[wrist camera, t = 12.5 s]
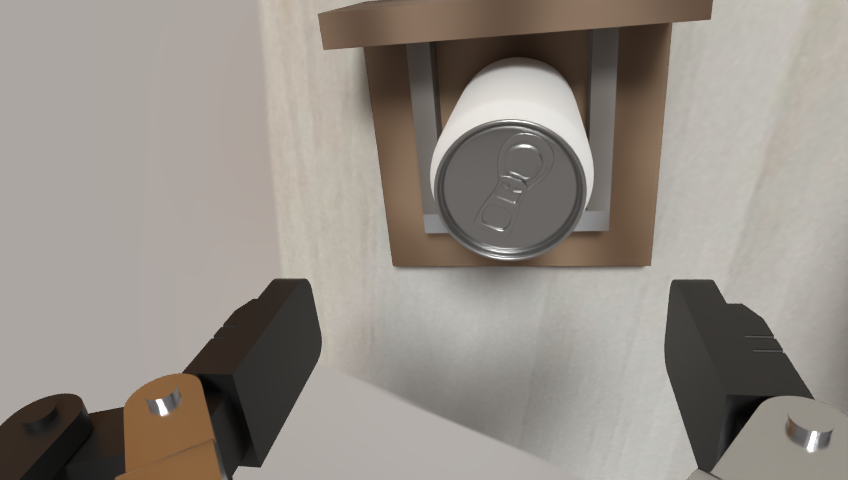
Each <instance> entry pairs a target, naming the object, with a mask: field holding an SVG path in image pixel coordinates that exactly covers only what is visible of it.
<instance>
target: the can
mask: <svg viewBox="0 0 848 480" xmlns="http://www.w3.org/2000/svg"><path fill="white" fill-rule="evenodd" d="M593 180H594V167H593V159H592V154H591V150H590V146H589V143H588V139H587V136H586V132H585V129H584V126H583V122H582V119H581V116H580V113H579V110H578V106H577V103H576V100H575V98H574V95H573V92H572V90H571V88H570V86H569V85H568V83H567V81H566V80H565V79H564V77H563V76H562V75H561V74H560V73H559V72H558V71H557V70H556V69H555V68H553V67H552V66H550V65H548V64H546V63H544V62H542V61H539V60H535V59H531V58H524V57H511V58H505V59H502V60H498V61H496V62H494V63H491V64H490V65H488V66H486V67H485V68H483V69H482V70H481V71H479V72H478V73H477V74H476V75H475V76H474V77H473V78H472V79H471V81H470V82H469V83H468V85H467V86H466V88H465V90H464V91H463V93H462V95H461V97H460V99H459V101H458V102H457V104H456V106H455V108H454V110H453V112H452V114H451V116H450V118H449V120H448V122H447V124H446V126H445V128H444V130H443V132H442V134H441V136H440V138H439V140H438V143H437V145H436V148H435V150H434V153H433V157H432V162H431V170H430V183H431V190H432V194H433V198H434V201H435V205H436V209H437V212H438V215H439V217H440V219H441V221H442V223H443V225H444V226H445V228H446V229H447V231H448V232H449V233H450V234H451V235H452V237H453V238H454V239H455V240H456V241H458V242H459V243H460V244H461V245H463V246H464V247H465V248H467V249H469V250H470V251H472V252H474V253H476V254H478V255H481V256H484V257H487V258H490V259H495V260H501V261H519V260H526V259H530V258H534V257H537V256H540V255H542V254H545V253H547V252H548V251H550V250H552V249H554V248H555V247H557V246H558V245H559V244H561V243H562V242H563V241H564V240H565V239H566V238H567V237H568V236H569V235H570V234H571V233H572V231H573V230H574V229H575V227H576V226H577V224H578V222H579V220H580V218H581V216H582V214H583V212H584V210H585V209H586V207H587V204H588V202H589V199H590V196H591V193H592V188H593Z"/></svg>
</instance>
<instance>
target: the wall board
mask: <svg viewBox="0 0 848 480" xmlns="http://www.w3.org/2000/svg"><path fill="white" fill-rule="evenodd" d="M712 3H713V0H379V1H368V2H363V3H359V4H355V5H351V6H347V7H343V8H339V9H335V10H331V11H327V12H324V13H320V14H318V18H319V25H320V31H321V37H322V43H323V49H324V50H329V49H342V48H355V47H364V51H365V59H366V67H367V74H368V82H369V89H370V97H371V104H372V112H373V119H374V127H375V135H376V142H377V150H378V157H379V165H380V172H381V180H382V188H383V195H384V203H385V210H386V218H387V225H388V233H389V240H390V248H391V256H392V263H393V266H651V258H652V246H653V235H654V224H655V213H656V201H657V190H658V179H659V168H660V156H661V145H662V134H663V123H664V111H665V100H666V89H667V78H668V66H669V55H670V44H671V33H672V22H685V21H698V20H711V12H712ZM511 57H524V58H531V59H535V60H539V61H542V62H544V63H546V64H548V65H550V66H552V67H553V68H555V69H556V70H557V71H558V72H559V73H560V74H561V75H562V76H563V77H564V79H565V80H566V81H567V83H568V85H569V86H570V88H571V90H572V92H573V95H574V98H575V100H576V103H577V106H578V110H579V113H580V116H581V119H582V122H583V126H584V129H585V132H586V136H587V139H588V143H589V146H590V150H591V154H592V159H593V167H594V180H593V188H592V193H591V196H590V199H589V202H588V204H587V207H586V209H585V210H584V212H583V214H582V216H581V218H580V220H579V222H578V224H577V226H576V227H575V229H574V230H573V231H572V233H571V234H570V235H569V236H568V237H567V238H566V239H565V240H564V241H563V242H562V243H561V244H559V245H558V246H557V247H555V248H554V249H552V250H550V251H548V252H547V253H545V254H542V255H540V256H537V257H534V258H530V259H526V260H519V261H501V260H495V259H490V258H487V257H484V256H481V255H478V254H476V253H474V252H472V251H470V250H469V249H467V248H465V247H464V246H463V245H461V244H460V243H459V242H458V241H456V240H455V239H454V238H453V237H452V235H451V234H450V233H449V232H448V231H447V229H446V228H445V226H444V225H443V223H442V221H441V219H440V217H439V215H438V212H437V209H436V205H435V201H434V198H433V194H432V190H431V183H430V170H431V162H432V157H433V153H434V150H435V148H436V145H437V143H438V140H439V138H440V136H441V134H442V132H443V130H444V128H445V126H446V124H447V122H448V120H449V118H450V116H451V114H452V112H453V110H454V108H455V106H456V104H457V102H458V101H459V99H460V97H461V95H462V93H463V91H464V90H465V88H466V86H467V85H468V83H469V82H470V81H471V79H472V78H473V77H474V76H475V75H476V74H477V73H478V72H479V71H481V70H482V69H483V68H485V67H486V66H488V65H490V64H491V63H494V62H496V61H498V60H502V59H505V58H511Z"/></svg>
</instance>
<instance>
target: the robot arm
mask: <svg viewBox="0 0 848 480" xmlns="http://www.w3.org/2000/svg"><path fill="white" fill-rule="evenodd" d="M321 346H322V337H321V331H320V326H319V321H318V316H317V312H316V307H315V302H314V297H313V293H312V288H311V285H310V283H309V281H308V280H307V279H274V280H273V281H272V282H271V283H270V284H269V285H268V287H267V288H266V289H265V290H264V291H263V293H262V294H261V295H260V296H259V298H258V299H252V300H251V301H249V302H248V303H246V304H245V305H243V306H242V307H240V308H239V309H237V310H235V311H234V313H233V314H232V315H231V316H230V317H229V318H228V320H227V321H226V322H225V323H224V325H223V327H221V328H220V329H219V330H218V331H217V333H216V334H215V335H214V339H211V340H210V341H209V342H208V343H207V344H206V345H205V347H204V348H203V349H202V350H201V351H200V353H199V354H198V355H197V356H196V357H195V358H194V360H193V361H192V362H191V363H190V364H189V365H188V367H187V368H186V369H185V370H184V371H183V372H182V374H181V373H179V374H172V375H167V376H163V377H161V378H158V379H155V380H153V381H151V382H149V383H147V384H145V385H144V386H142V387H141V388H139V389H138V390H137V391H136V392H134V393H133V394H132V395H131V396H130V398H129V399H128V400H127V402H126V403H125V406H124V407H121V408H116V409H110V410H105V411H100V412H95V413H90V414H88V412H87V410H86V408H85V405H84V403H83V401H82V399H81V398H80V397H79V396H77V395H74V394H57V395H52V396H48V397H45V398H42V399H39V400H37V401H35V402H32V403H31V404H29V405H27V406H25V407H23V408H22V409H20V410H18V411H17V412H16V413H14V414H13V415H12V416H11V417H10V418H8V419H7V420H6V421H5V422H4V423H3V424H2V425H1V426H0V480H233V477H232V476H233V474H234V472H235V471H236V469H237V467H238V466H247V467H261V466H262V464H263V462H264V460H265V458H266V456H267V454H268V453H269V451H270V449H271V447H272V445H273V443H274V441H275V440H276V438H277V436H278V434H279V432H280V430H281V428H282V427H283V425H284V423H285V421H286V419H287V417H288V415H289V413H290V412H291V410H292V408H293V406H294V404H295V402H296V400H297V399H298V397H299V395H300V393H301V391H302V389H303V387H304V386H305V384H306V382H307V380H308V378H309V376H310V375H311V373H312V371H313V369H314V367H315V365H316V363H317V362H318V359H319V357H320V353H321ZM664 352H665V363H666V369H667V373H668V376H669V379H670V382H671V385H672V388H673V391H674V394H675V398H676V401H677V404H678V407H679V410H680V413H681V416H682V419H683V422H684V425H685V428H686V431H687V435H688V438H689V441H690V444H691V447H692V450H693V453H694V456H695V459H696V462H697V465H698V469H696V470H695V471H694V472H693V473H692V474H691V475H690V476H689V477H688V479H687V480H848V416H847V415H845V414H844V413H842V412H841V411H839V410H837V409H835V408H834V407H832V406H829V405H827V404H825V403H822V402H819V401H816V400H815V399H814V397H813V396H812V394H811V393H810V391H809V390H808V388H807V387H806V385H805V383H804V382H803V380H802V379H801V377H800V376H799V374H798V372H797V371H796V369H795V368H794V366H793V365H792V363H791V362H790V360H789V358H788V357H787V355H786V354H785V353H783V349H782V347H781V346H780V344H779V343H778V341H777V340H776V339H774V335H773V333H772V332H771V330H770V329H769V327H768V326H767V324H766V322H765V321H764V319H763V318H762V317H760V316H759V315H757V314H756V313H755V312H753V311H752V310H750V309H749V308H748V307H746V306H745V305H743V304H727V303H726V301H725V300H724V298H723V296H722V294H721V293H720V291H719V289H718V287H717V285H716V284H715V282H714V281H713V280H673V281H672V283H671V286H670V293H669V303H668V313H667V323H666V333H665V344H664Z"/></svg>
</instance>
